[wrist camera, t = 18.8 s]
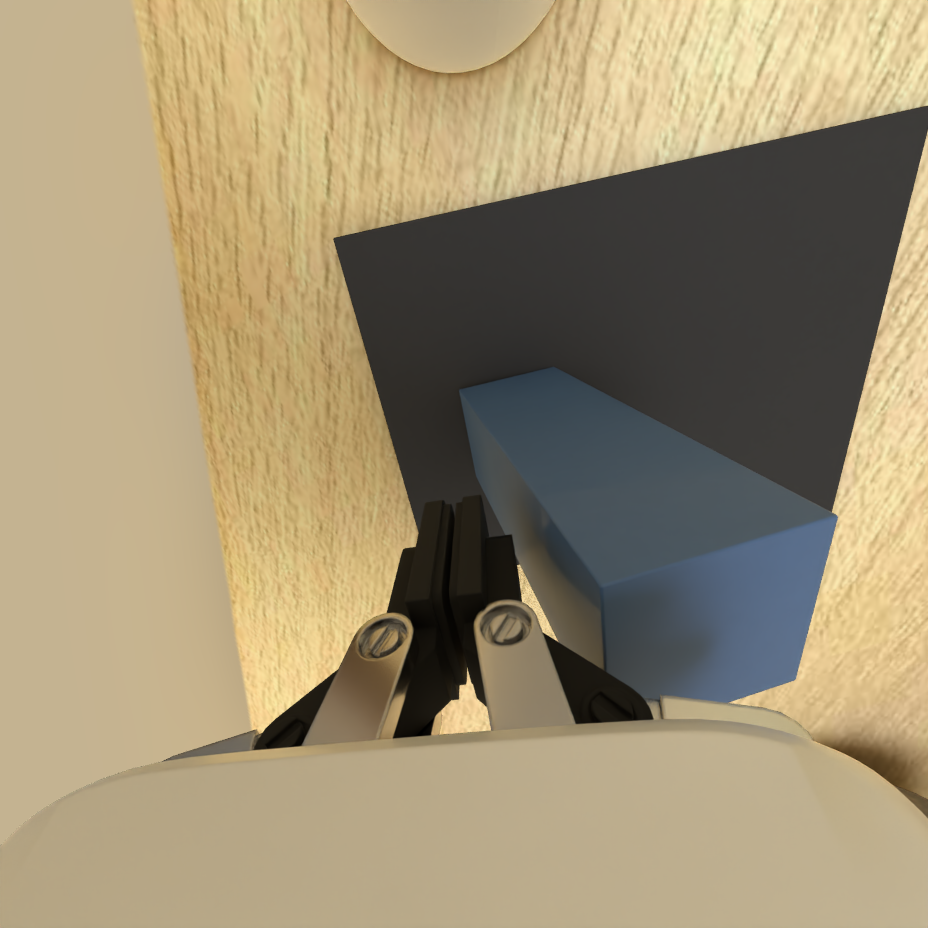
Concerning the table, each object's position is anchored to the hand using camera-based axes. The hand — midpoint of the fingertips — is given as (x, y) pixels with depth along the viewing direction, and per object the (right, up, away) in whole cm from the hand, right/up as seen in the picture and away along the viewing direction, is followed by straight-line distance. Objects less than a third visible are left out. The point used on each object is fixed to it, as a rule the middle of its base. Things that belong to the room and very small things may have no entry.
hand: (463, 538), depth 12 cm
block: (+2, +4, +7) cm, 9 cm away
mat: (+7, +5, +7) cm, 12 cm away
